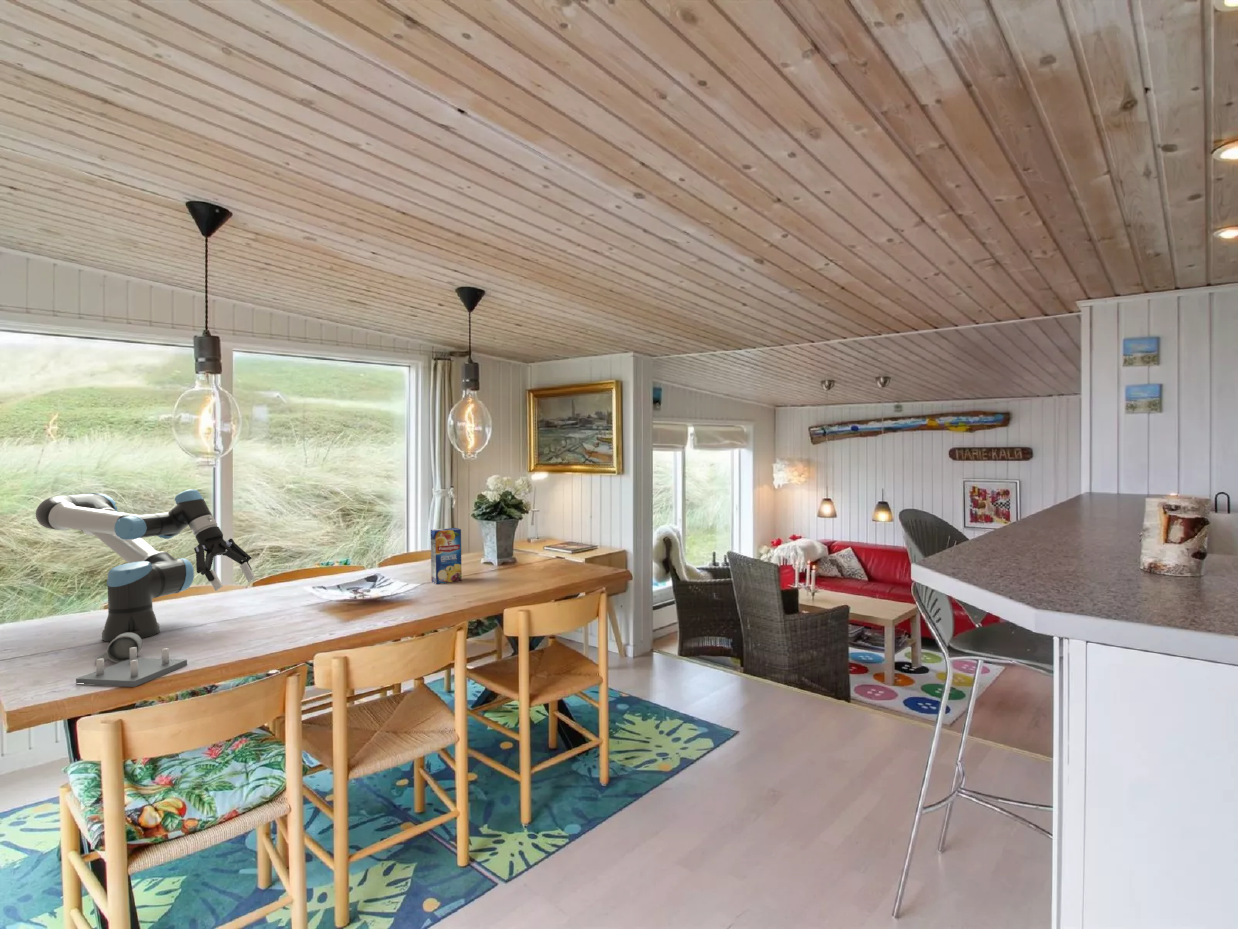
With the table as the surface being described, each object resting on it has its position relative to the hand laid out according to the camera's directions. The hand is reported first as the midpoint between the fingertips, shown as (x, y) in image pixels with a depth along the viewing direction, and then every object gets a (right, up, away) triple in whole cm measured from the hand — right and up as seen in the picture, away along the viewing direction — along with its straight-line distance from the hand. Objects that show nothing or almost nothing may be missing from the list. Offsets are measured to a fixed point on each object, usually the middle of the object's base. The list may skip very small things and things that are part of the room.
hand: (236, 584), depth 218 cm
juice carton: (+50, -14, +78) cm, 94 cm away
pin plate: (-2, -16, -44) cm, 47 cm away
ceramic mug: (-15, -16, -32) cm, 39 cm away
